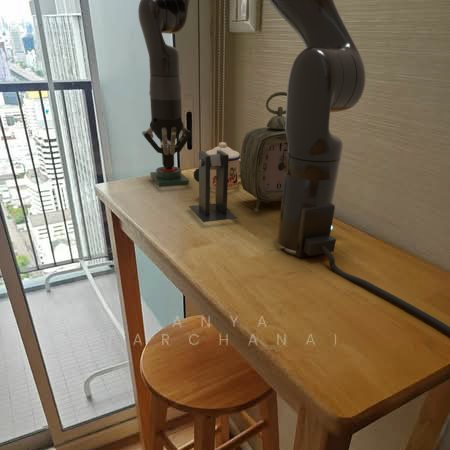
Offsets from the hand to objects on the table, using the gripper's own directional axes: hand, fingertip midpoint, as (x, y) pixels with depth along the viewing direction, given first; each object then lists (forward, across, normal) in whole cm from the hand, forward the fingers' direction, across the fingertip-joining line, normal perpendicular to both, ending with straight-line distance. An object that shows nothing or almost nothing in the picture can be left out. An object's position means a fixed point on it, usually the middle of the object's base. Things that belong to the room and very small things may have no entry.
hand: (168, 168), depth 109 cm
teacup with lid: (+4, +14, -7) cm, 16 cm away
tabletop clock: (+4, +18, -25) cm, 31 cm away
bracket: (+4, +3, -26) cm, 27 cm away
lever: (-4, +3, -23) cm, 23 cm away
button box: (+4, 0, 0) cm, 4 cm away
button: (+2, 0, 0) cm, 2 cm away
